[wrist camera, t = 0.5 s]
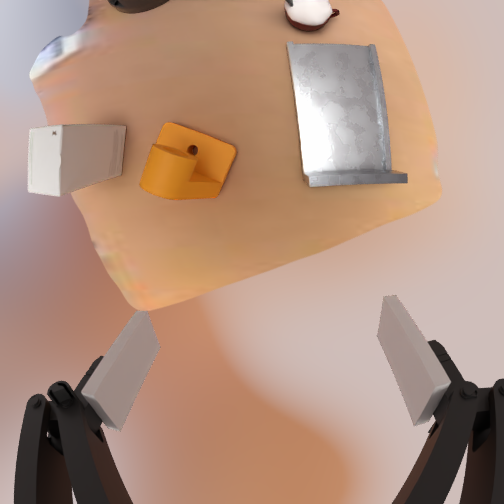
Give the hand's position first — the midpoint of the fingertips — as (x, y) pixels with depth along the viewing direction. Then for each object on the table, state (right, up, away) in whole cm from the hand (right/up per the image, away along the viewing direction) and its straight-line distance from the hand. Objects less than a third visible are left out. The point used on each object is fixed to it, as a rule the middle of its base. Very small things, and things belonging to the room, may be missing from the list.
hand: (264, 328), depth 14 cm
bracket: (-9, +17, +23) cm, 30 cm away
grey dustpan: (+11, +24, +18) cm, 32 cm away
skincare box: (-23, +20, +23) cm, 38 cm away
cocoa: (+7, +38, +14) cm, 41 cm away
